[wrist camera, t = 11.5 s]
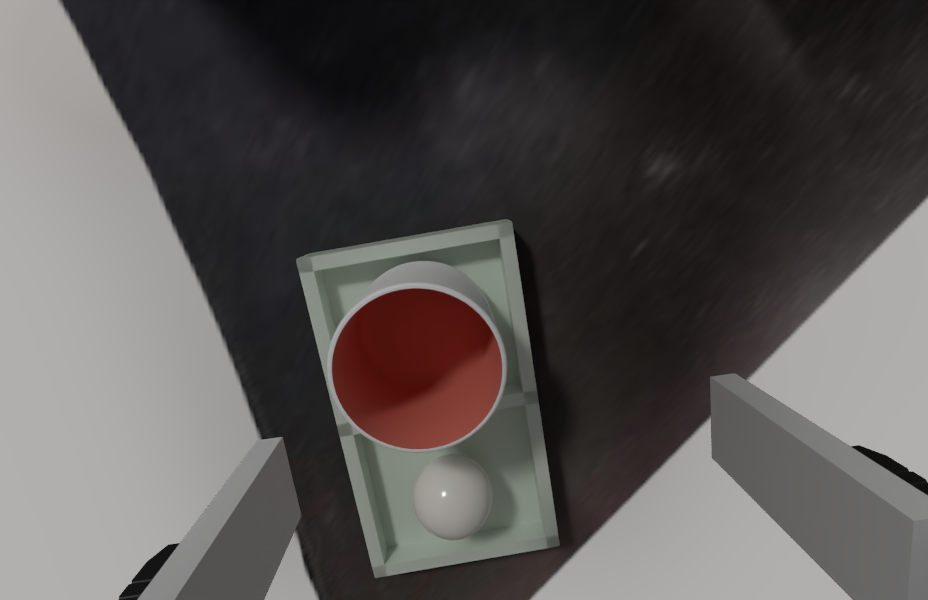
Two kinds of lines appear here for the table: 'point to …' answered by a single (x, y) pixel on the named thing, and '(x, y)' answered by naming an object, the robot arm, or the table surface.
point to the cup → (418, 359)
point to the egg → (452, 497)
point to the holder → (493, 446)
